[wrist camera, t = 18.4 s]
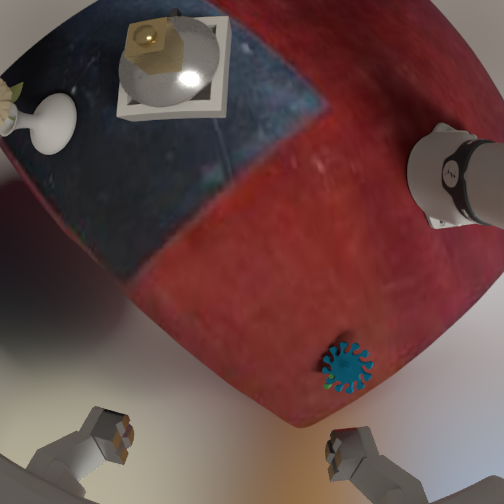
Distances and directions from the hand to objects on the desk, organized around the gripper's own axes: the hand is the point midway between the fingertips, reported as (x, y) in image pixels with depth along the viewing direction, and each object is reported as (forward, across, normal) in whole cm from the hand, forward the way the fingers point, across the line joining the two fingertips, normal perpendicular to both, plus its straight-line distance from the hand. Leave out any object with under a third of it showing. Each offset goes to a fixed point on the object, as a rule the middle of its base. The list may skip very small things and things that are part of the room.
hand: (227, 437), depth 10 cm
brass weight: (+29, +12, -24) cm, 40 cm away
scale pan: (+35, +12, -25) cm, 45 cm away
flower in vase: (+37, +35, -19) cm, 54 cm away
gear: (+37, -19, +24) cm, 48 cm away
